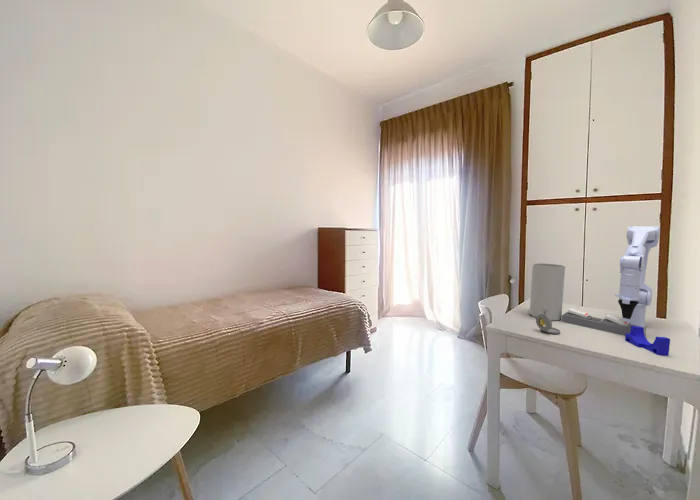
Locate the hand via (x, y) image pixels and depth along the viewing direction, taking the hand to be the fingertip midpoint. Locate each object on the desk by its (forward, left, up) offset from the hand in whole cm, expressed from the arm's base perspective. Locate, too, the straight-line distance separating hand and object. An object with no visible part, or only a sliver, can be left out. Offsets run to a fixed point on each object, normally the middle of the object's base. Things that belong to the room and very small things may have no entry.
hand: (626, 318), depth 114 cm
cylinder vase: (+2, -28, -6) cm, 28 cm away
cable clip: (+14, +7, -7) cm, 17 cm away
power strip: (0, -8, -6) cm, 10 cm away
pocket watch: (+24, -21, -6) cm, 32 cm away
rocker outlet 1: (0, -16, -2) cm, 16 cm away
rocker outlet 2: (0, -3, -2) cm, 4 cm away
